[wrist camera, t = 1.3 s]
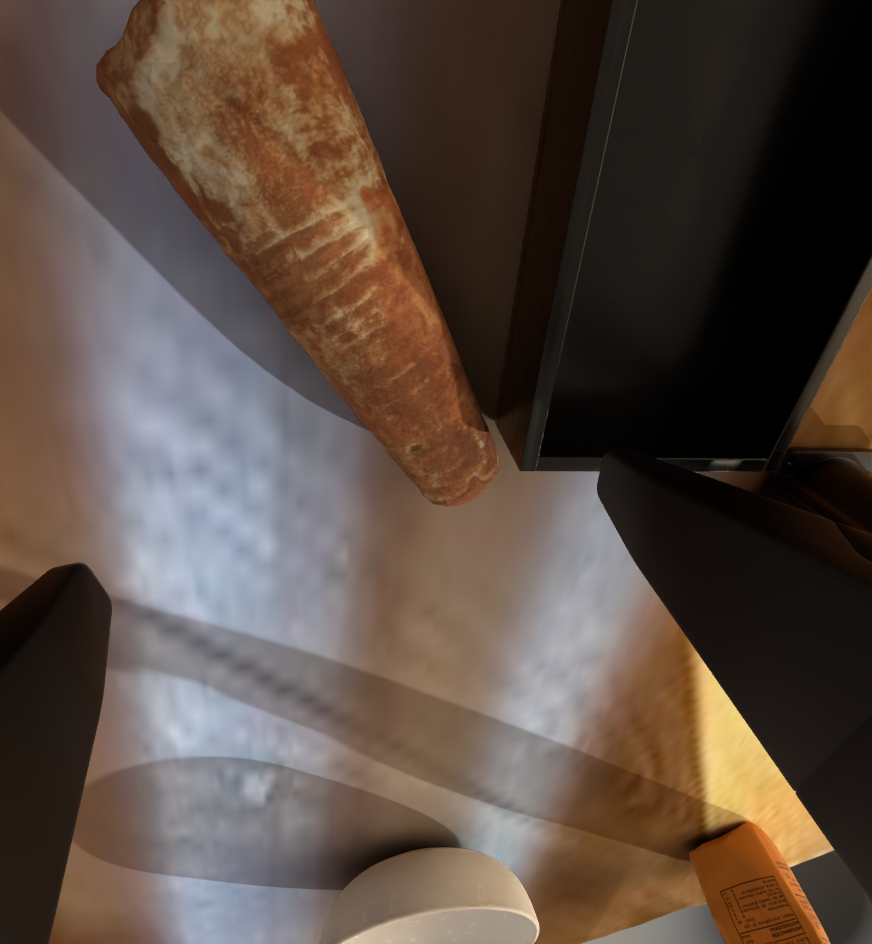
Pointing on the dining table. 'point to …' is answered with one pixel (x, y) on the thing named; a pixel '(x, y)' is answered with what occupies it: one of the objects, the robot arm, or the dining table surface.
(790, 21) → the bread tray
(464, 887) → the serving bowl
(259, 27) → the bread
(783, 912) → the coffee package
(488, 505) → the dining table surface
